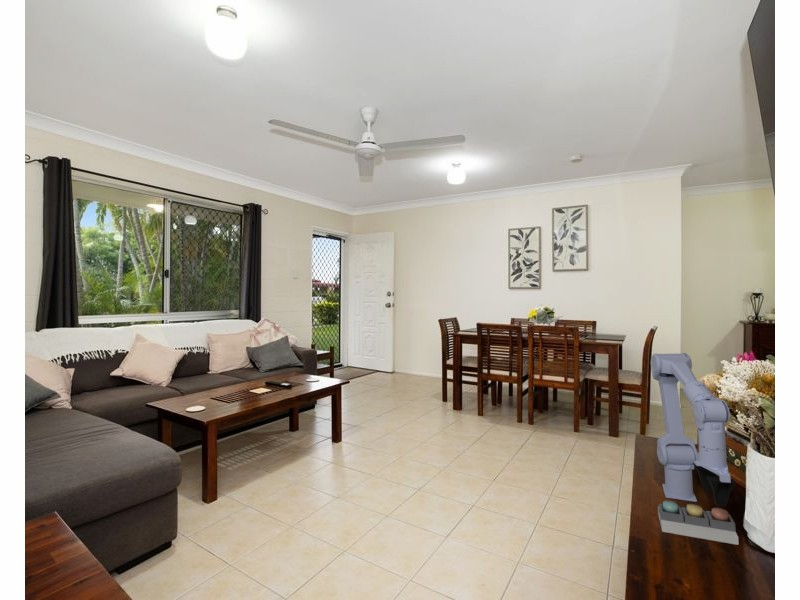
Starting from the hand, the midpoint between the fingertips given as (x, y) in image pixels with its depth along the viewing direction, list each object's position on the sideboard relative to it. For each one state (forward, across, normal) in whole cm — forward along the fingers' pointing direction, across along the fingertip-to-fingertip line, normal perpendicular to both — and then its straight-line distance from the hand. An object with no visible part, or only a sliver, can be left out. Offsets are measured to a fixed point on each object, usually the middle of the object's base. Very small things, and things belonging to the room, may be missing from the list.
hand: (714, 498), depth 108 cm
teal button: (+6, -3, -9) cm, 11 cm away
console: (+9, -2, -4) cm, 10 cm away
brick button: (+6, -1, +1) cm, 6 cm away
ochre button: (+6, -2, -4) cm, 7 cm away
